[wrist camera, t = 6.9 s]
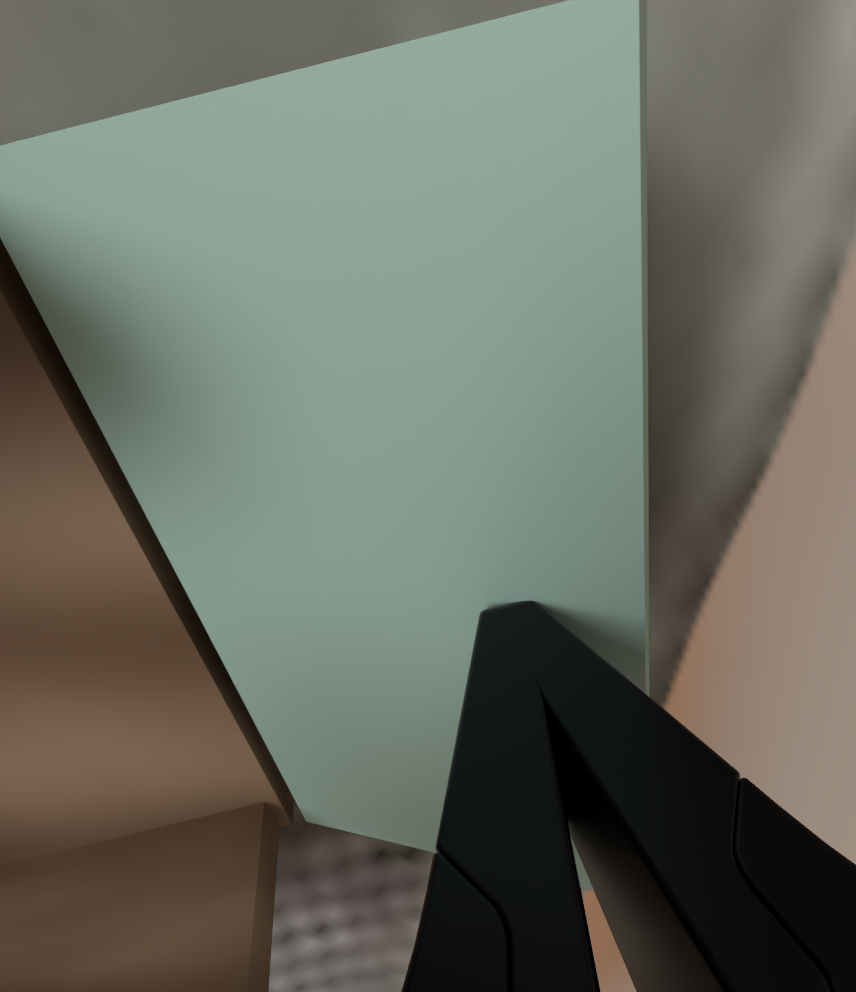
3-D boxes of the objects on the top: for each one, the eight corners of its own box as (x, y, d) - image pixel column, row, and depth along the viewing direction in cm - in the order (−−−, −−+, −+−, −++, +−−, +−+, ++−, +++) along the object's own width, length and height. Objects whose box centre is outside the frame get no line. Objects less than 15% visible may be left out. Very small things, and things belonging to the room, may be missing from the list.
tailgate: (326, 779, 15) (650, 848, 12) (306, 821, 14) (647, 904, 11) (30, 142, 8) (645, -11, 5) (-42, 156, 7) (638, -17, 4)
